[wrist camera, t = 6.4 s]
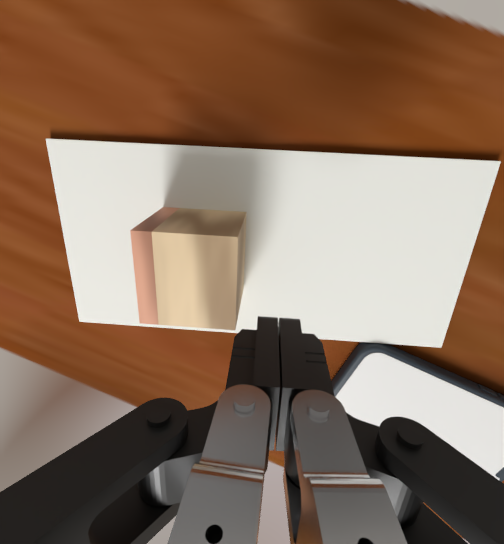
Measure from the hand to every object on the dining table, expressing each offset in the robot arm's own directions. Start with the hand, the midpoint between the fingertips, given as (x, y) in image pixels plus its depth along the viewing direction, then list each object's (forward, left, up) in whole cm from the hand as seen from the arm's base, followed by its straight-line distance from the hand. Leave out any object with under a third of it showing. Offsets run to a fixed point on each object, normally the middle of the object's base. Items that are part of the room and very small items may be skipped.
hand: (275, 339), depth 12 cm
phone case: (-12, +13, -11) cm, 21 cm away
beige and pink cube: (+2, 0, -7) cm, 7 cm away
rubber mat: (+1, 0, -10) cm, 10 cm away
